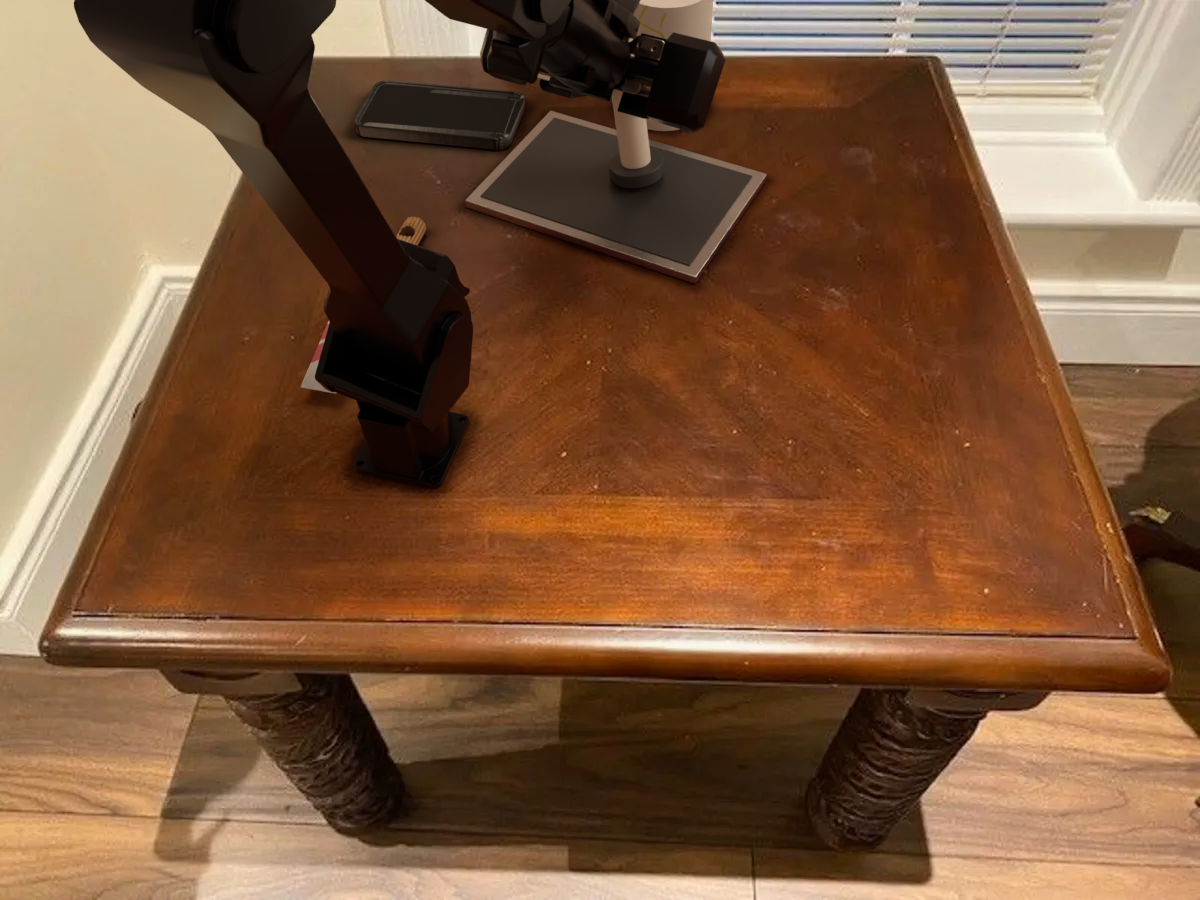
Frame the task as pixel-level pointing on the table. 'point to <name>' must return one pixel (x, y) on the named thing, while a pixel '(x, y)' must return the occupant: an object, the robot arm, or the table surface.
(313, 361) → the paintbrush
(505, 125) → the phone
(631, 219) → the tablet
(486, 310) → the table surface
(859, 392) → the table surface
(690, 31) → the cup
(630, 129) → the peg on round base
